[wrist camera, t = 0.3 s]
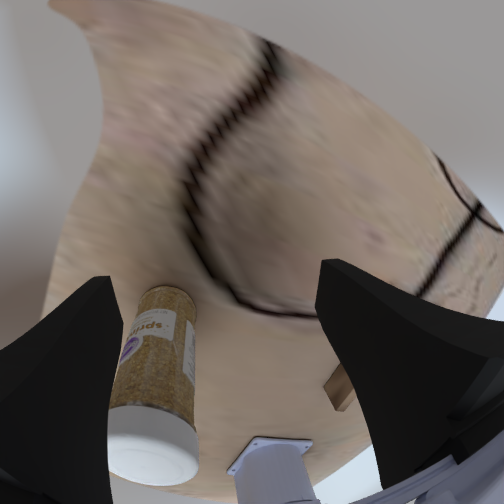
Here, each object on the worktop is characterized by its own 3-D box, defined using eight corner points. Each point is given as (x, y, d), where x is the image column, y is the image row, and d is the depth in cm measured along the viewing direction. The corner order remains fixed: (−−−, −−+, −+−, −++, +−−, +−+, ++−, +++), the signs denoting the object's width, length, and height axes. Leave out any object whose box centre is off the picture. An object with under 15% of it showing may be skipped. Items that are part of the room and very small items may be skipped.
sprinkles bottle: (153, 273, 20) (103, 424, 8) (207, 301, 21) (219, 461, 9) (130, 319, 21) (84, 467, 8) (181, 344, 22) (175, 496, 10)
